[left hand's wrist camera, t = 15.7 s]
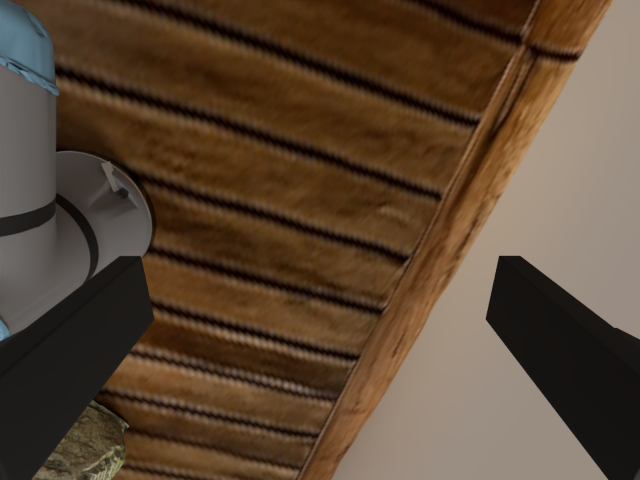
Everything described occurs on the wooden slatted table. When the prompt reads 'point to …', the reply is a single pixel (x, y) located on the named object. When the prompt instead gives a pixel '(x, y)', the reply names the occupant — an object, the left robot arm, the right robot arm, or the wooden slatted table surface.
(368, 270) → the wooden slatted table surface
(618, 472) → the left robot arm
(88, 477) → the fossil
